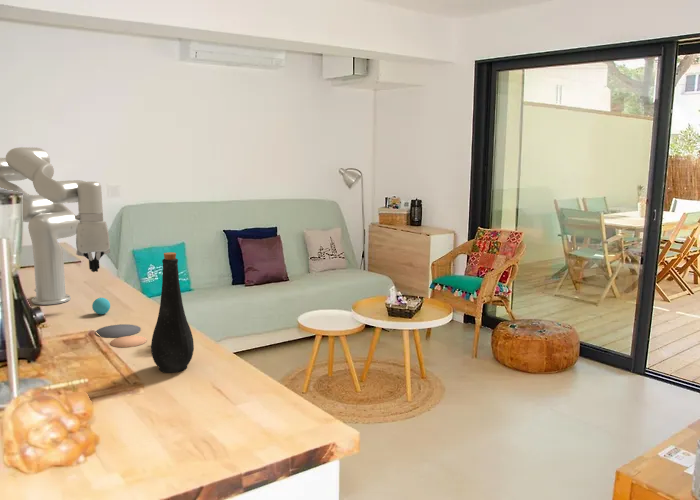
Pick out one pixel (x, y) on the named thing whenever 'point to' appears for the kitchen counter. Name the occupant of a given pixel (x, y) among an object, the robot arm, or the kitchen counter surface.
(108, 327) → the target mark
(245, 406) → the kitchen counter surface
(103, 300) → the ball
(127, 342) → the far mark
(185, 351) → the bottle
